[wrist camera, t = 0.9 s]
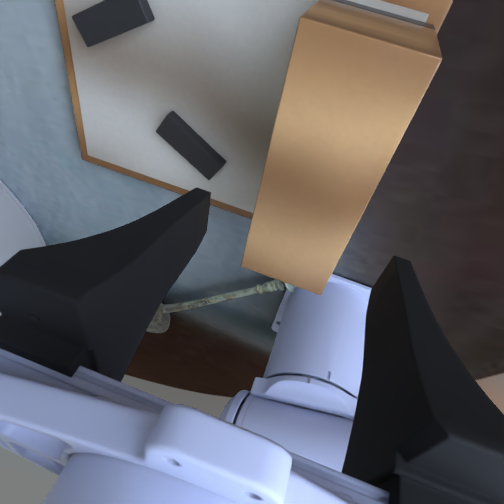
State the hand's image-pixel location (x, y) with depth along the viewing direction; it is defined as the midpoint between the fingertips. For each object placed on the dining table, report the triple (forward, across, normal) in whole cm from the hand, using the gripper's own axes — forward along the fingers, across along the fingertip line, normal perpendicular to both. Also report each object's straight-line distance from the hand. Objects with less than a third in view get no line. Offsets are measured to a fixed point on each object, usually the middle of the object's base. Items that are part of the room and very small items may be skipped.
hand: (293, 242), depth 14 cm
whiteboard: (+10, +7, 0) cm, 13 cm away
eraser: (+9, 0, 0) cm, 9 cm away
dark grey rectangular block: (+9, +13, -3) cm, 16 cm away
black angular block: (+9, +8, +3) cm, 13 cm away
